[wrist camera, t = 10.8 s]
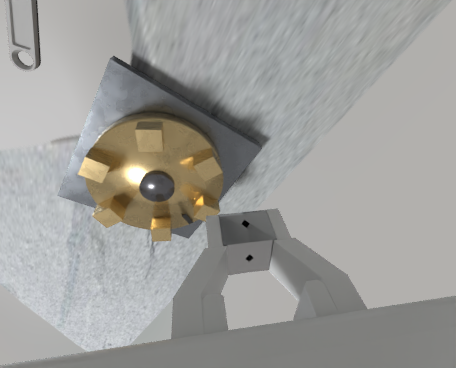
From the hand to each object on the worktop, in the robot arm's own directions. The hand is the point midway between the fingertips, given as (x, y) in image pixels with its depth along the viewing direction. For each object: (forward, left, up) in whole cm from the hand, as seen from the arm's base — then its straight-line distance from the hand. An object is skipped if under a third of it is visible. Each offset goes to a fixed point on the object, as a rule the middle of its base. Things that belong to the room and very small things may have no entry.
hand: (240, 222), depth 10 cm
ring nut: (+17, +2, -27) cm, 32 cm away
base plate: (+17, +2, -29) cm, 34 cm away
